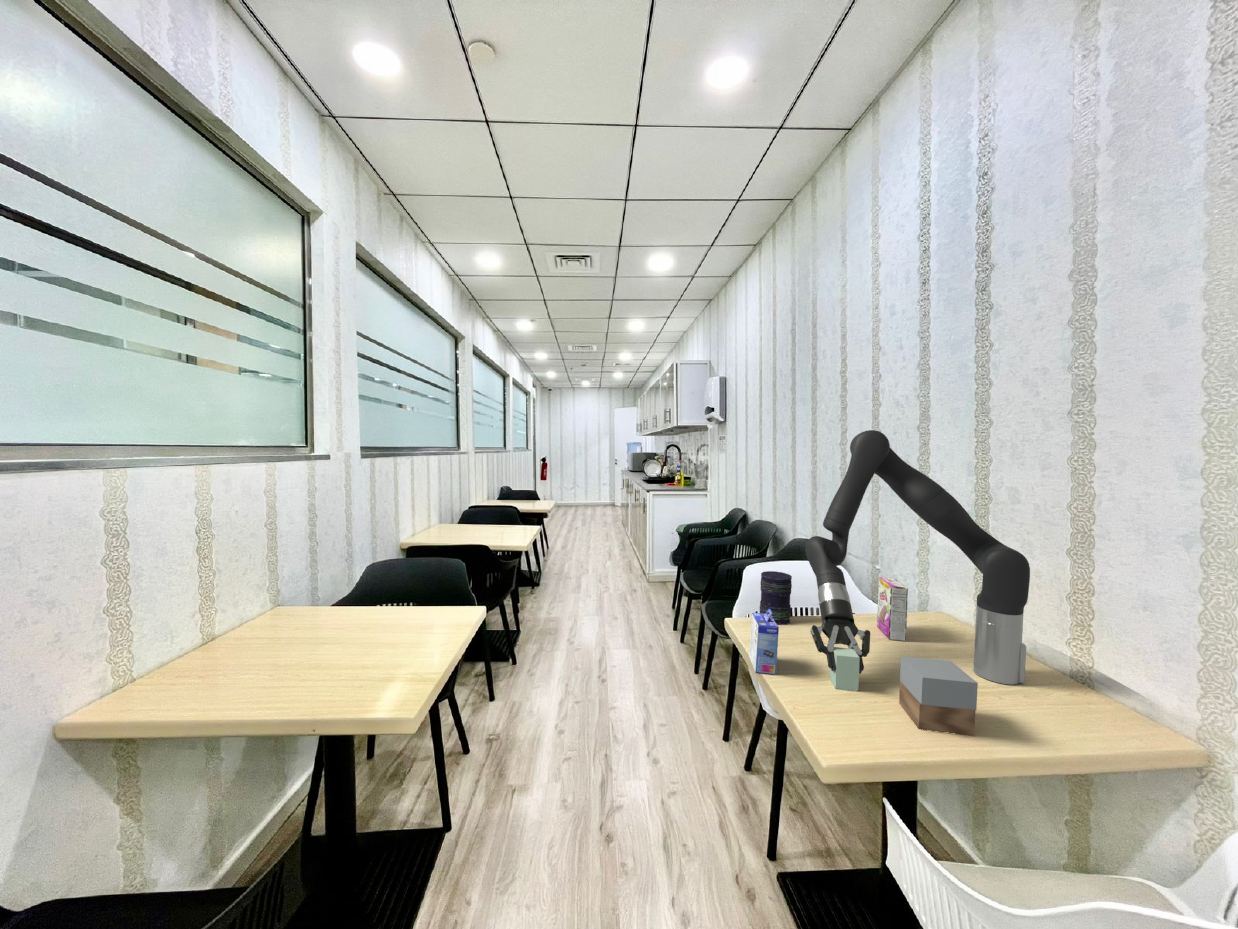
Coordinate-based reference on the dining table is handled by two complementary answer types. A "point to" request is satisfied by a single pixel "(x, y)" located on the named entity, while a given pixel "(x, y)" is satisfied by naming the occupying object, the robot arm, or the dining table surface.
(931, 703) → the tower top
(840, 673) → the sage block
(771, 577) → the storage jar
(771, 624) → the ink cartridge box
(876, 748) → the dining table surface
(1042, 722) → the dining table surface
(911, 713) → the tower base
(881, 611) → the candy bar box
